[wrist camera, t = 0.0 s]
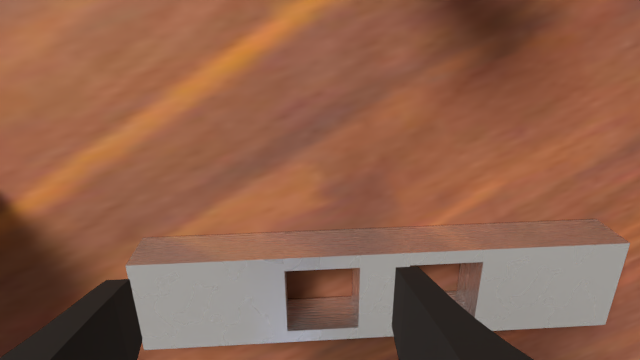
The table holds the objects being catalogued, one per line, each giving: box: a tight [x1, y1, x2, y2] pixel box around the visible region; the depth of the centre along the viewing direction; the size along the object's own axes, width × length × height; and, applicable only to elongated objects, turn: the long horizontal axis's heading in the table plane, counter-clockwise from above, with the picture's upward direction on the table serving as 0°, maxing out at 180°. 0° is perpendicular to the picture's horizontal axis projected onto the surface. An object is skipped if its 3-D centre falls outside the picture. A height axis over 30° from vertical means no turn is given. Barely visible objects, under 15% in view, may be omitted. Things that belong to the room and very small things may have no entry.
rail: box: [126, 219, 630, 350], centre depth 23 cm, size 5×24×2 cm, turn 91°
